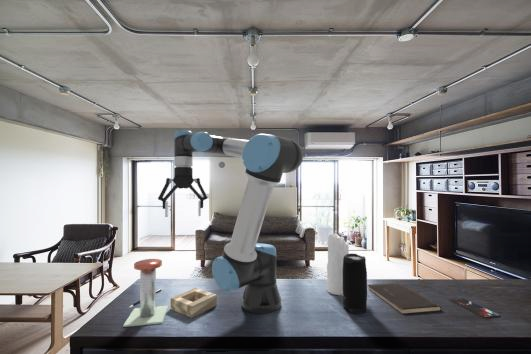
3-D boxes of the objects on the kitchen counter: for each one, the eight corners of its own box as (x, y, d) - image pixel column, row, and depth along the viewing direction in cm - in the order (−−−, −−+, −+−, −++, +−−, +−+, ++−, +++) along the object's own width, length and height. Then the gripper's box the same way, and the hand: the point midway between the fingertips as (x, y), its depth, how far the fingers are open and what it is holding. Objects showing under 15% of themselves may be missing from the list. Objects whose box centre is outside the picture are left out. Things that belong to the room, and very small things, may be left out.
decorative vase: (348, 285, 121) (348, 230, 122) (354, 295, 111) (353, 235, 111) (324, 285, 122) (323, 230, 123) (327, 294, 112) (326, 234, 112)
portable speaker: (345, 315, 94) (344, 259, 95) (340, 303, 104) (340, 252, 104) (370, 316, 94) (369, 259, 94) (363, 304, 103) (362, 252, 103)
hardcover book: (401, 315, 95) (401, 308, 95) (367, 290, 118) (367, 284, 118) (441, 312, 98) (441, 305, 98) (400, 287, 120) (400, 282, 120)
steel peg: (166, 312, 95) (167, 261, 96) (142, 323, 88) (143, 268, 88) (151, 305, 101) (152, 257, 101) (128, 315, 93) (128, 263, 93)
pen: (164, 290, 118) (164, 287, 118) (129, 309, 100) (129, 306, 100) (162, 289, 119) (162, 287, 119) (127, 308, 101) (128, 305, 101)
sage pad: (168, 307, 101) (168, 305, 101) (162, 323, 89) (162, 321, 89) (134, 309, 99) (134, 308, 99) (123, 327, 87) (123, 325, 87)
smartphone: (462, 297, 108) (501, 315, 93) (462, 299, 108) (501, 317, 93) (447, 299, 106) (484, 317, 92) (447, 300, 106) (484, 319, 92)
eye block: (216, 304, 103) (216, 294, 103) (192, 318, 93) (192, 306, 93) (195, 297, 110) (195, 287, 110) (170, 308, 100) (170, 298, 100)
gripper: (212, 167, 121) (212, 214, 121) (154, 167, 117) (154, 215, 116) (212, 166, 114) (212, 216, 113) (150, 166, 109) (150, 218, 109)
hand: (183, 216), depth 115 cm, fingers open, 13 cm apart
